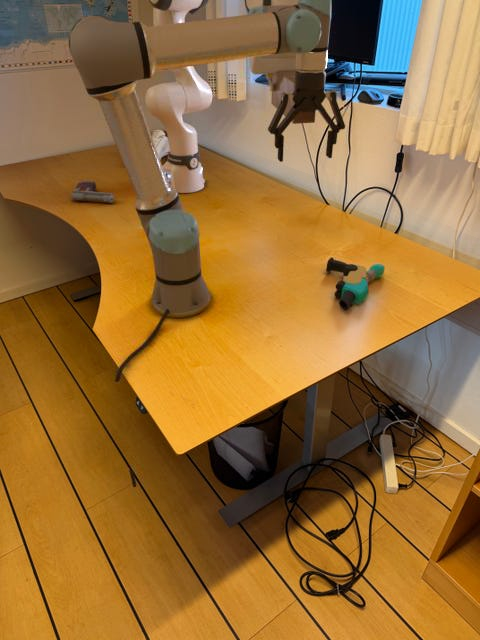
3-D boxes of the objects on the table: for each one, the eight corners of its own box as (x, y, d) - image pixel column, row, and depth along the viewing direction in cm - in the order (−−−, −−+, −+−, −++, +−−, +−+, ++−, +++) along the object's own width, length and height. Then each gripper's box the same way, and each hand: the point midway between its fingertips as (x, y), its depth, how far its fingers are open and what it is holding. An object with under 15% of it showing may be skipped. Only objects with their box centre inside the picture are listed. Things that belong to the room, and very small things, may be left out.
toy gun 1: (126, 191, 190) (111, 206, 179) (83, 188, 193) (65, 202, 182) (125, 182, 188) (109, 196, 176) (81, 179, 191) (63, 193, 179)
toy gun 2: (304, 289, 121) (361, 305, 115) (336, 248, 139) (387, 259, 134) (302, 304, 124) (359, 320, 118) (334, 262, 142) (384, 273, 136)
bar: (314, 122, 125) (317, 83, 120) (293, 123, 124) (295, 84, 119) (289, 102, 145) (291, 67, 139) (271, 103, 144) (272, 68, 138)
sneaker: (130, 167, 214) (125, 139, 207) (157, 149, 236) (154, 123, 229) (151, 169, 212) (147, 141, 204) (176, 150, 234) (174, 125, 226)
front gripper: (353, 66, 120) (343, 151, 133) (257, 70, 117) (256, 157, 129) (365, 70, 114) (353, 159, 127) (264, 75, 111) (262, 166, 123)
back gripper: (319, 33, 135) (315, 86, 143) (248, 35, 132) (248, 89, 140) (326, 35, 130) (321, 90, 138) (253, 37, 127) (252, 93, 135)
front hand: (304, 158), depth 128 cm, fingers open, 13 cm apart
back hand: (284, 90), depth 139 cm, fingers closed on bar, 6 cm apart
